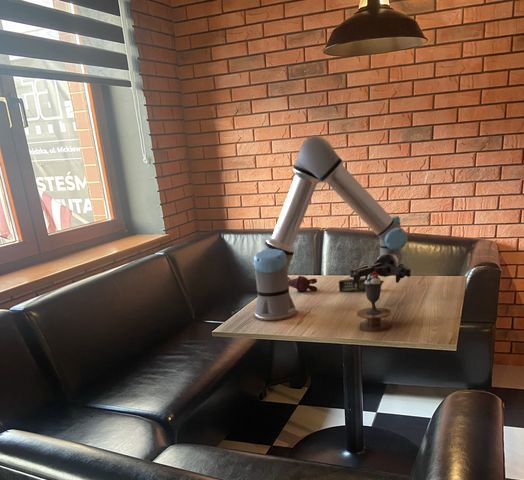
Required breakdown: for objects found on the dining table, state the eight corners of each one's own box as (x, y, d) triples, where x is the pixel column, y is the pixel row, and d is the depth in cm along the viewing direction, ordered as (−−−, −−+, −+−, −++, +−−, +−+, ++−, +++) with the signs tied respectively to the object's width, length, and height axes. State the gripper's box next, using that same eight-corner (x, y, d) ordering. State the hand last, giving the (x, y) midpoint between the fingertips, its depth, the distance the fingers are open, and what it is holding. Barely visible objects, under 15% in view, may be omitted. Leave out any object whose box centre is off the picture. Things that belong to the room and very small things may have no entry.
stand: (351, 325, 178) (350, 311, 177) (380, 319, 181) (379, 305, 180) (367, 334, 169) (367, 319, 167) (398, 328, 172) (398, 313, 170)
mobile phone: (338, 281, 218) (376, 277, 215) (338, 279, 221) (375, 276, 217) (339, 292, 220) (376, 289, 216) (339, 291, 222) (376, 287, 219)
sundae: (384, 315, 169) (383, 268, 164) (363, 316, 171) (361, 269, 166) (384, 309, 175) (383, 263, 170) (363, 309, 177) (361, 265, 172)
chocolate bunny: (280, 279, 224) (314, 282, 219) (285, 271, 230) (319, 273, 225) (281, 293, 228) (315, 296, 223) (286, 285, 234) (319, 287, 229)
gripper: (422, 274, 190) (415, 289, 172) (352, 275, 199) (339, 290, 181) (422, 253, 187) (415, 266, 169) (351, 255, 197) (337, 268, 178)
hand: (375, 279), depth 175 cm, fingers open, 13 cm apart
